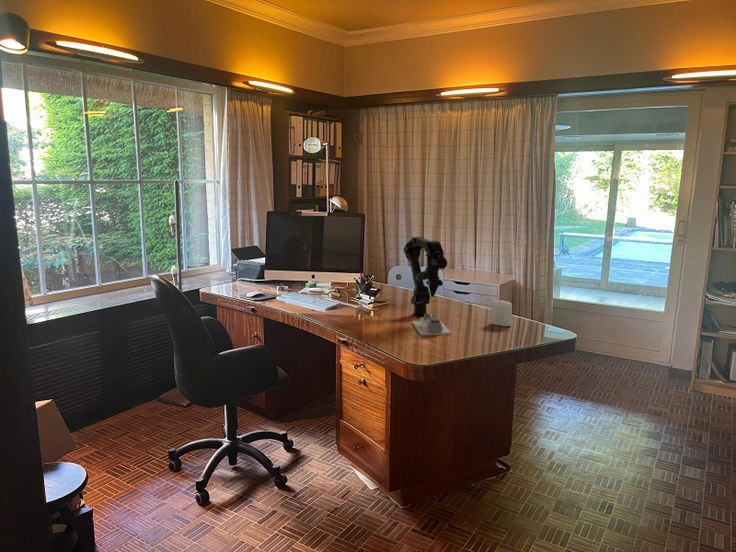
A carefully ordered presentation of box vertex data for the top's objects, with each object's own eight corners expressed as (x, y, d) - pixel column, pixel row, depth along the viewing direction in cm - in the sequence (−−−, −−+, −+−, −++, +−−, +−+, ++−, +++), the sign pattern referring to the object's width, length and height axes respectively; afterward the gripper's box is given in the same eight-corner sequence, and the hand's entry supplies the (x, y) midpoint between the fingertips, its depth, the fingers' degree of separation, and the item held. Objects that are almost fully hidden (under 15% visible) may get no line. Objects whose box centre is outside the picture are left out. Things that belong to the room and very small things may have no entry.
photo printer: (512, 325, 263) (513, 300, 261) (509, 327, 260) (510, 302, 257) (492, 322, 269) (493, 298, 267) (489, 324, 265) (490, 300, 263)
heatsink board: (412, 323, 270) (412, 310, 268) (439, 322, 271) (439, 309, 270) (421, 335, 248) (421, 322, 247) (450, 334, 249) (450, 321, 248)
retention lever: (425, 313, 262) (431, 320, 248) (433, 313, 262) (439, 320, 249) (425, 317, 262) (431, 325, 249) (433, 317, 262) (439, 324, 249)
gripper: (413, 263, 276) (413, 293, 279) (420, 269, 258) (420, 301, 260) (434, 263, 277) (434, 292, 280) (443, 268, 259) (442, 300, 261)
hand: (432, 296), depth 270 cm, fingers closed
